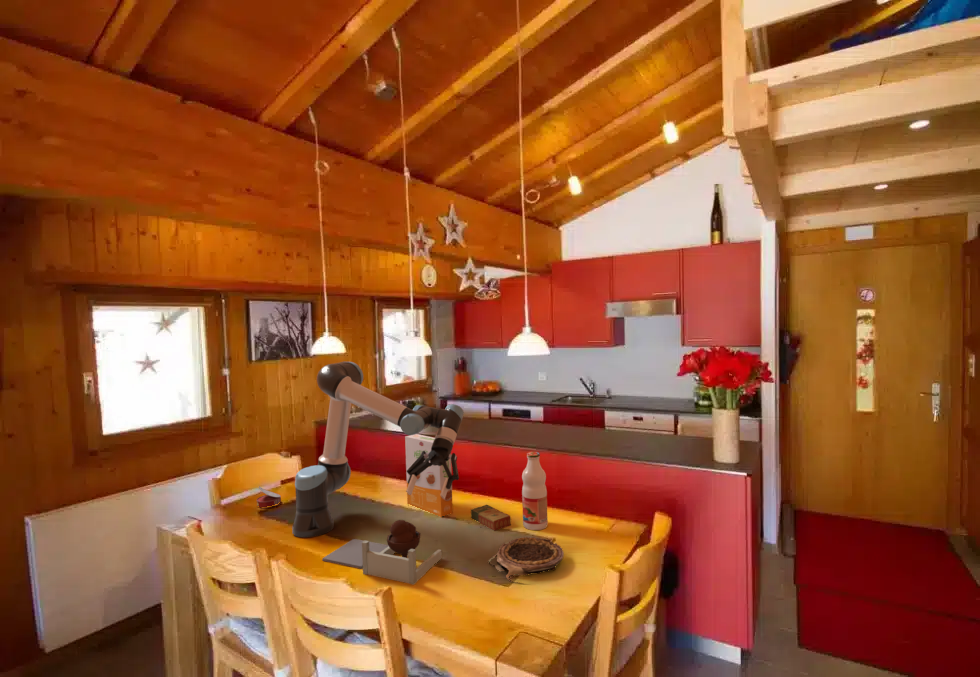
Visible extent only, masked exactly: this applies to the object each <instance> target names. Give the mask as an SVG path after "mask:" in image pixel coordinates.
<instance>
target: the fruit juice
mask: <svg viewBox="0 0 980 677" xmlns="http://www.w3.org/2000/svg"><path fill="white" fill-rule="evenodd" d="M540 455H541V454H540V452H537V451H528V452H527V453H526V458H527V463H526V467H525V468H524V469H523V471H522V475H521V479H522V483H523V484H522V488H521V489H522V490H521V495H522V496H521V498H522V499H521V500H522V525H523V527H524V528H525V529H527V530H531V531H541V530H544V529H546V528H547V527H548V522H549V521H548V491H547V486H546V479H547V474H546V472H545V470H544V469H543V468H542V465H541V463H540V457H541V456H540Z"/></svg>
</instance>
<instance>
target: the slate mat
mask: <svg viewBox="0 0 980 677" xmlns="http://www.w3.org/2000/svg"><path fill="white" fill-rule="evenodd" d="M363 541H364V539H363V540H362V539H357V538H352V539H351V540H349V541H348V542H346V543H345V544H343V545H342V546H339V548H337V549H335V550H333V551H332V552H330V553H329V554H327V555H326V556H324V557H322V561H323V562H327V563H331V564H335V565H340V566H346V567H352V568H355V569H360V570H361V569H362V570H363V560H362V542H363ZM387 547H388V544H383V543H379V542H373V541H369V550H370V551H373V552H378V553H380V552H381V551H383V550H384V549H386V548H387Z"/></svg>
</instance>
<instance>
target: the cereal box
mask: <svg viewBox="0 0 980 677" xmlns="http://www.w3.org/2000/svg"><path fill="white" fill-rule="evenodd" d="M434 439H435V437H432V436H429V435H422V434H420V433H417V434H414V435H407V436H404V440H405V441H404V442H405V470H406V472H405V474H406V488H407V487H408V485H409V484H408V480H409V477H410V475H409V474H408V473H407V470H408V469H409V468H410V467H411V465H412V464H413V463H414V462H415V461H416V460H417V459H418V458H419V457H420V455H421V453H422V451H425V452H427V453H429V452H430V451H431V447H432V444H433V442H434ZM427 458H428V457H427ZM425 460H426V459H425ZM429 463H430V461H429ZM446 463H447V465H448V468H449V470H450V472H451V474H452V475H453V472H452V463H451V459H449V460H448V461H446ZM416 477H417V480H416V483H415V486H414V488H413V491H412V494H411V495H409V494H408V493H407V492H406V498H407V499H406V502H407V504H410V505H412V506H415V507H417V508H420V509H422V510H421V511H423V510H425V511H428V512H430V513H429V514H431V513H433V514H435V515H434V516H436V515H438V516H437V517H439V516H440V517H439V518H443V517H442V516H444V517H446V516H449V515H451V514H453V513H454V510H453V509H454V506H453V484H452V485H451V488H450V489H448V491H447V494H446V497H445V499H443V498H442V497H441V496H440V494H441V491H442V488H443V485H444V482H445V479H446V478H449V477H448V475H447V473H446V471H445V469H444V467H443V465H441V466H438V465H436V466H434V465H432V466H430V467H428V468H426V469H425V470H424V471H423V472H421V473H420V474H419V475H418V476H416ZM407 504H406V505H407ZM412 506H411V507H412ZM415 507H414V508H415ZM417 508H416V509H417ZM420 509H419V510H420ZM425 511H424V512H425ZM428 512H427V513H428ZM450 513H451V514H450ZM433 514H432V515H433ZM448 514H449V515H448ZM445 515H446V516H445Z"/></svg>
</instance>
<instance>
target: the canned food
mask: <svg viewBox="0 0 980 677" xmlns="http://www.w3.org/2000/svg"><path fill="white" fill-rule="evenodd" d="M258 489H259V490H260V491H261V492H262V493H263V494H265V495H262V496H260V497H258V498H257V499H256V507H257V506H259V507H267V506H272V505H275V504H278V503H279V502H281V503H282V498H281V495H280V494H279V493H275V492H273V491H270V490H268V489H264V488H263V487H261V486H258Z"/></svg>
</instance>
